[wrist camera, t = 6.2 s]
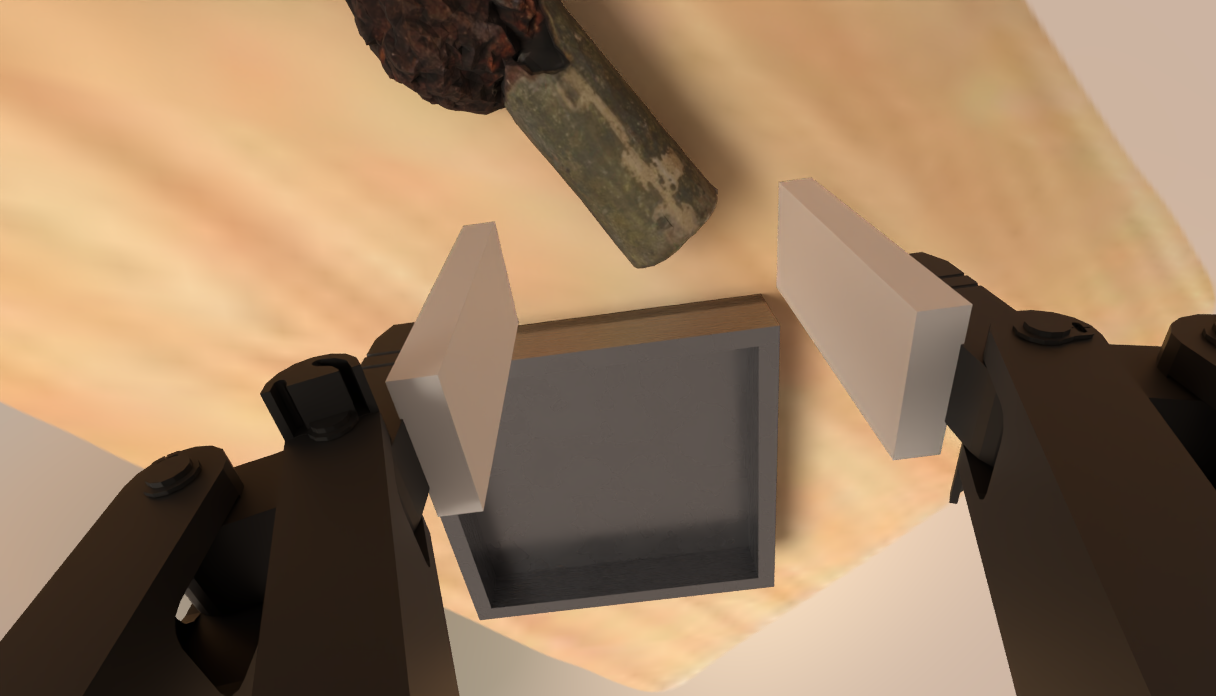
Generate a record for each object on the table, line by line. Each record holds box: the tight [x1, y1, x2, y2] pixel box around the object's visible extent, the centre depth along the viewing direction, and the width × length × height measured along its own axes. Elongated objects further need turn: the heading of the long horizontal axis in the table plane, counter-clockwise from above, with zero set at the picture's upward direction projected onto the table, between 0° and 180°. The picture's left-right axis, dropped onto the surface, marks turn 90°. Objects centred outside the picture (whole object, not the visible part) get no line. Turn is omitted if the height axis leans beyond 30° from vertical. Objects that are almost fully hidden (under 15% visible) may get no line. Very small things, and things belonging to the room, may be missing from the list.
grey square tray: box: [440, 294, 780, 620], centre depth 34 cm, size 19×19×4 cm
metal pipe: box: [346, 0, 718, 268], centre depth 22 cm, size 18×7×6 cm, turn 40°
